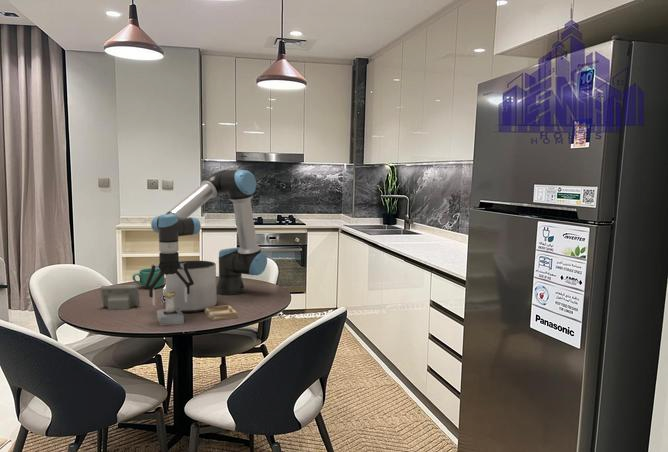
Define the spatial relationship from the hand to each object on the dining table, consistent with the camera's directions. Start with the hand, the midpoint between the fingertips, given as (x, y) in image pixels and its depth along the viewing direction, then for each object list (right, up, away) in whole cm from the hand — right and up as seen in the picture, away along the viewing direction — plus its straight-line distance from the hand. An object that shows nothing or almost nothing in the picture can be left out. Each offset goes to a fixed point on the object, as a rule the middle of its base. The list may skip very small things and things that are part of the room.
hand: (169, 303), depth 202 cm
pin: (0, -7, +1) cm, 7 cm away
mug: (-32, -1, +61) cm, 69 cm away
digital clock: (-30, -5, +21) cm, 37 cm away
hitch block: (0, -7, +1) cm, 7 cm away
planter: (+2, -6, +23) cm, 24 cm away
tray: (+19, -7, +10) cm, 22 cm away
